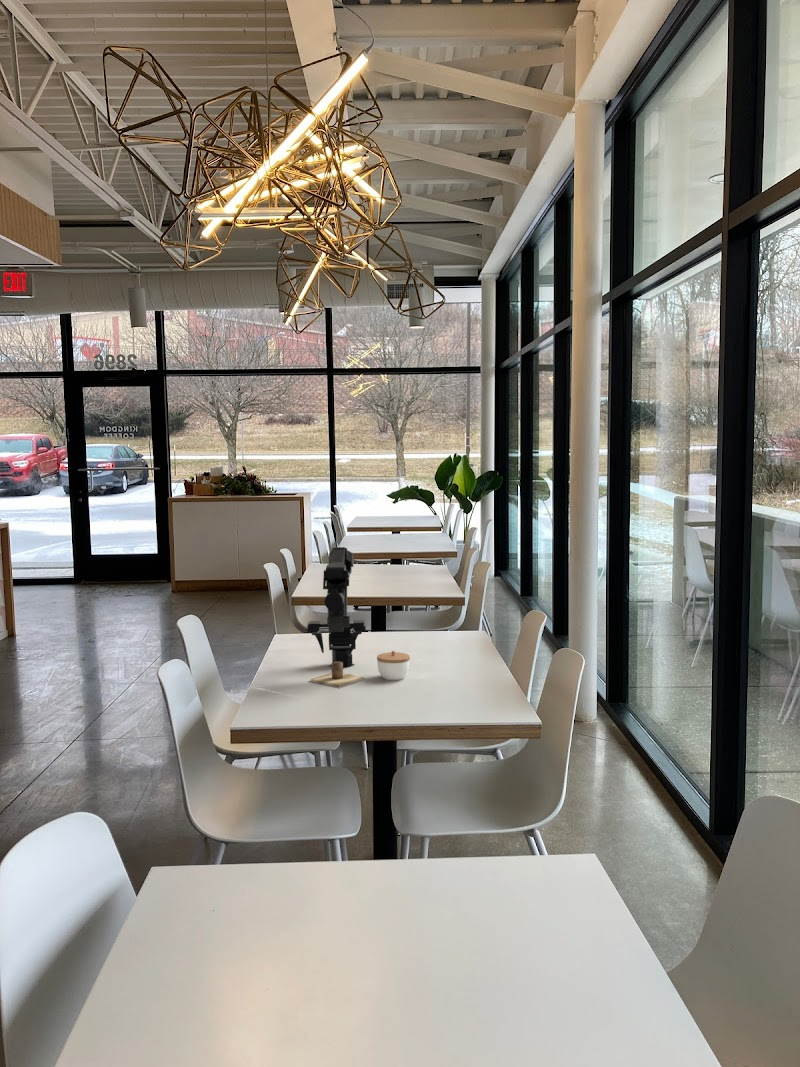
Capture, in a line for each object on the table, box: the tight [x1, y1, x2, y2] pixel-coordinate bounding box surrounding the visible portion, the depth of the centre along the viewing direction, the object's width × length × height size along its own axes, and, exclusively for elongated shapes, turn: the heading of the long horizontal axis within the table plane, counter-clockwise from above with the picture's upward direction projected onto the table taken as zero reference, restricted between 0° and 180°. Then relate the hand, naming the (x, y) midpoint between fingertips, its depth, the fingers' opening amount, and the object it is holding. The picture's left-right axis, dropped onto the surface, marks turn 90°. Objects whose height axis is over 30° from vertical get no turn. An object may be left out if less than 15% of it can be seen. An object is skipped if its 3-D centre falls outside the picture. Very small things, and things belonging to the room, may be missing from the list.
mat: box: [307, 677, 367, 689], centre depth 290 cm, size 14×14×1 cm
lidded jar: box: [376, 650, 411, 681], centre depth 292 cm, size 11×11×9 cm
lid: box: [310, 662, 364, 687], centre depth 290 cm, size 12×12×6 cm
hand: (337, 652), depth 289 cm, fingers open, 9 cm apart
